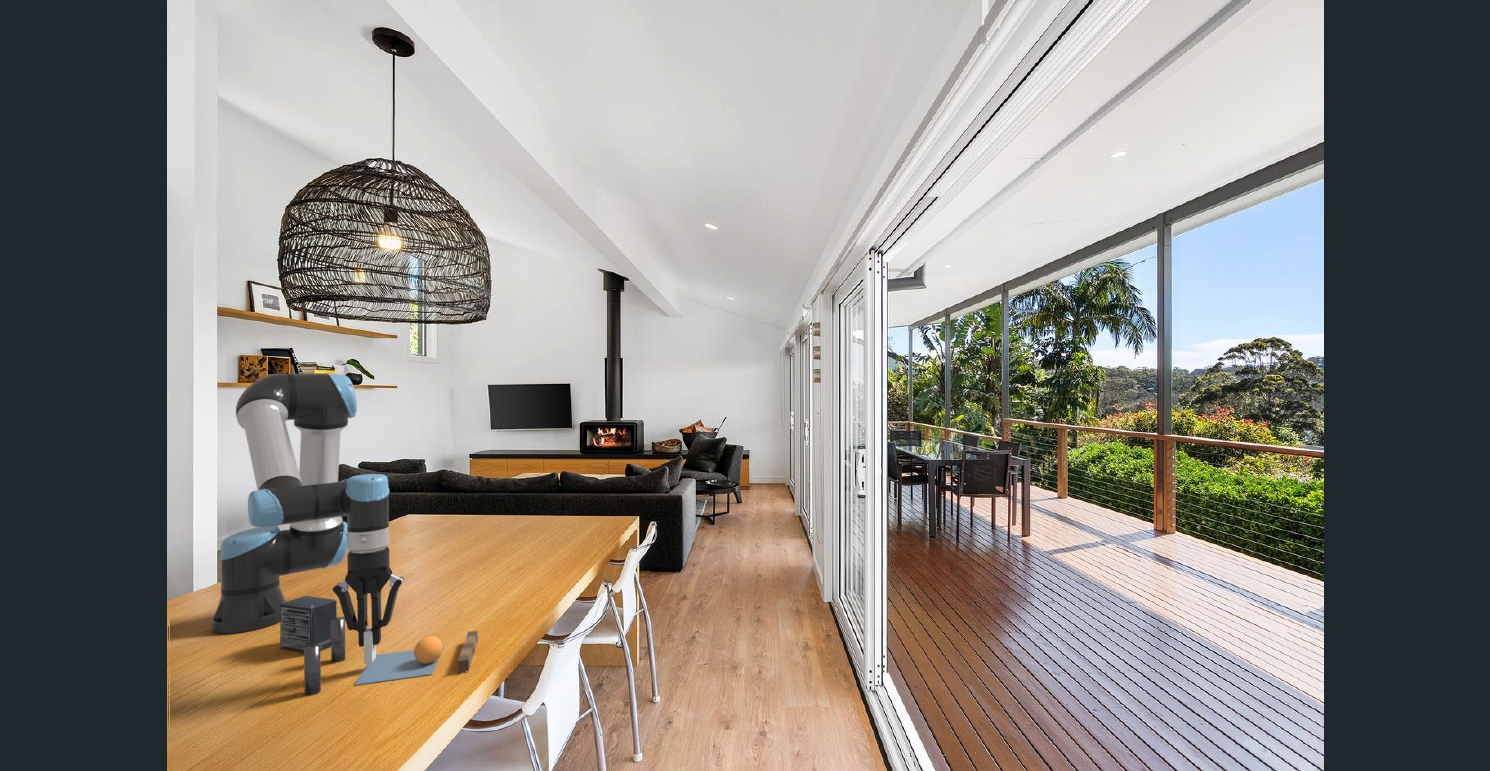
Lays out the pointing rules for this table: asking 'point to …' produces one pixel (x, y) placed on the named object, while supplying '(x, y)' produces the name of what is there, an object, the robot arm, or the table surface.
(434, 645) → the ball
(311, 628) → the small box
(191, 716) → the table surface
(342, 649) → the post
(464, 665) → the stopper wall
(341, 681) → the table surface
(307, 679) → the post
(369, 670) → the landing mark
